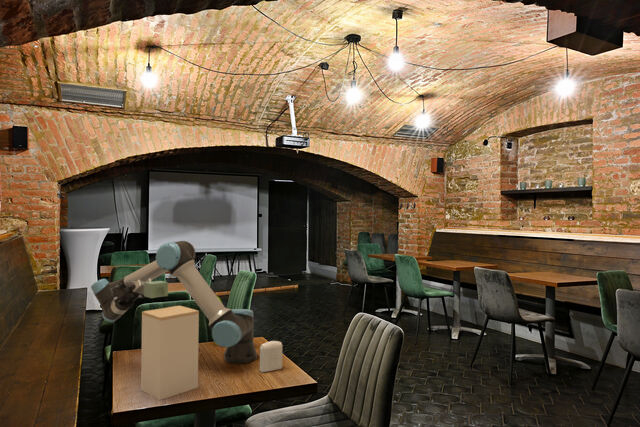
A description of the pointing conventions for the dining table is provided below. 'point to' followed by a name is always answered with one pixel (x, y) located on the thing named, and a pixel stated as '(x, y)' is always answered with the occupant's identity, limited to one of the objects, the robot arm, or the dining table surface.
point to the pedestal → (169, 351)
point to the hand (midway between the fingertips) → (145, 282)
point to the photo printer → (270, 356)
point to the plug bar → (152, 288)
